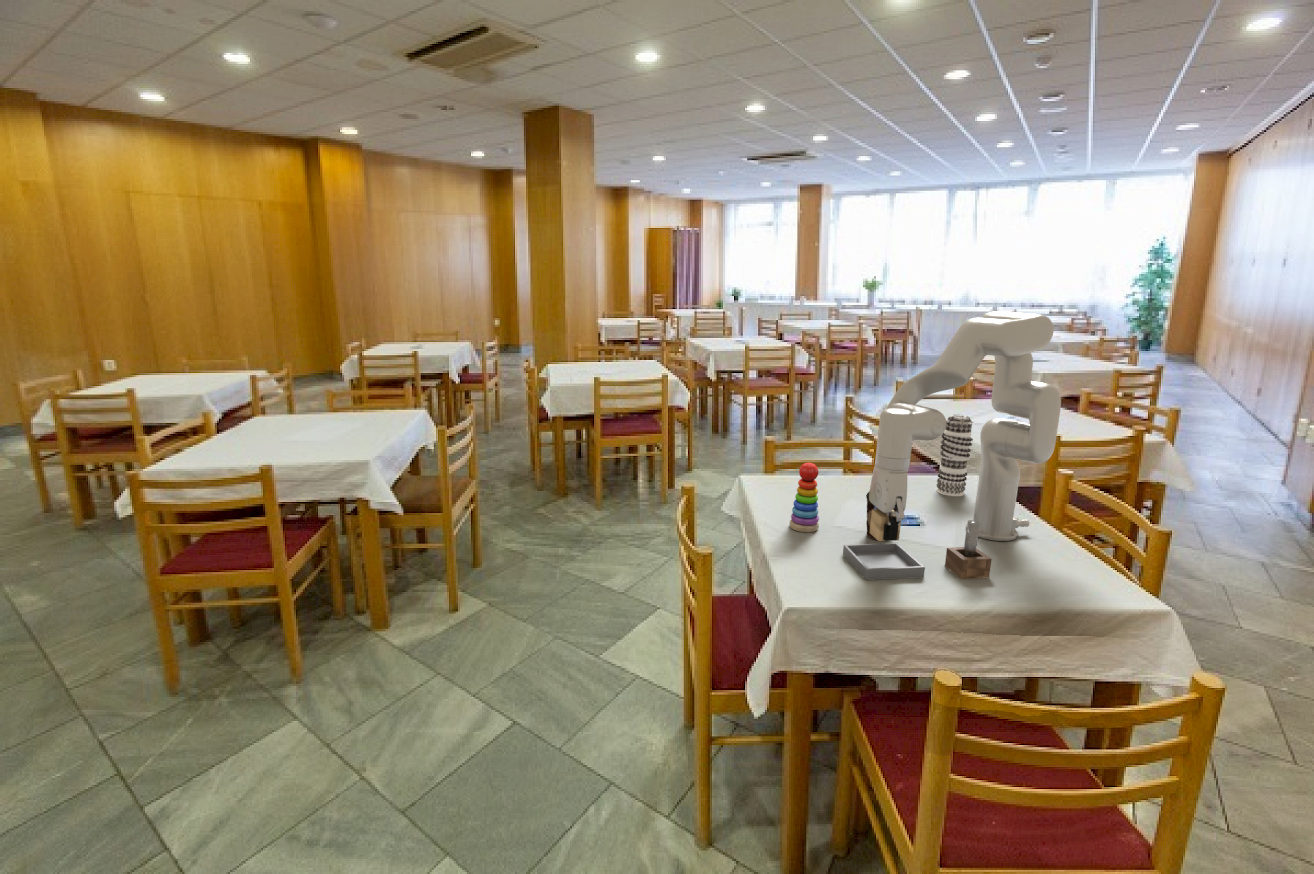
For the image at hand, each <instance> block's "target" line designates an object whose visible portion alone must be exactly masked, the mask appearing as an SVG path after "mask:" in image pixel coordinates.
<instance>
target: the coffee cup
mask: <svg viewBox="0 0 1314 874" xmlns="http://www.w3.org/2000/svg"><path fill="white" fill-rule="evenodd" d="M869 492H870V490H869V491H868V492H867V493H866V494H865V495H866V496H865V498H866V524H865V525H866V536H867V537H868V538H869V539H872V540H877V539H876V538H875V537H874V536H872V535H871V534H870V524H871V514H872V509H874V505H873V504H872V503H871V502H870V500H869ZM893 510H894V511H896V509H893ZM877 541H878V540H877Z"/></svg>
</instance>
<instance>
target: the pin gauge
mask: <svg viewBox="0 0 1314 874" xmlns="http://www.w3.org/2000/svg"><path fill="white" fill-rule="evenodd" d="M966 524H967V530H966V532H965V538H964V543H963V544H964V546H963V547H964V551H963V556H964V557H975V554H976V548H977V547H978V540H979V537H978V533H979V526H980V522H978V521H975V520H973V519H968V520H967V523H966Z"/></svg>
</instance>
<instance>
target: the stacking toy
mask: <svg viewBox="0 0 1314 874" xmlns="http://www.w3.org/2000/svg"><path fill="white" fill-rule="evenodd" d="M798 472H799V473H798V474H799V476H800V479H799V480H798V483H797V484H798V486H797V489H796V491H797V493H796V494H795V496H794V497H795V498H794V499H795V500H794V501H793V507H792V509H791V511H792V513H791V515H790V518H791V519H790V520H789V527H790V528H791V529H792V530H795V532H796V531H797V532H801V533H812V532H815V531H817V530H818V529H819V527H820V525H819V520H820V517H819V510H818V508H819V504H818V500H819V497H818V492H819V491H818V488H817V487H818V483H817V482H818V481H817V480H816V479H817V478H818V475H819V468H818V467H817V465H816V464H815V463H812V462H805V463H803V464H802V465H801V466H800V467H799V471H798Z"/></svg>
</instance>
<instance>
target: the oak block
mask: <svg viewBox="0 0 1314 874" xmlns="http://www.w3.org/2000/svg"><path fill="white" fill-rule="evenodd" d="M892 511H894V510H892ZM892 517H895V514H891V518H892ZM885 524H886V513H883V512H882V511H881V510H879V509H872V514H871V524H870V534H871V535H872V536H874V537H875V538H876V539H877V541H878V542H886V541H885V540H883V534H884V525H885ZM901 524H902V521H901V522H900V525H899V526H898V534H897V540H894V541H895V542H896V541H900V535H901V534H900V532H901ZM876 539H875V540H876Z"/></svg>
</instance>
